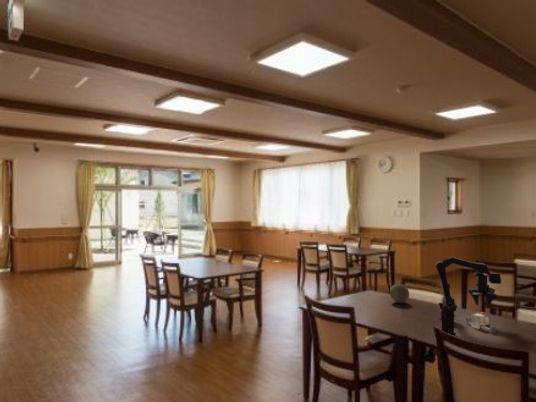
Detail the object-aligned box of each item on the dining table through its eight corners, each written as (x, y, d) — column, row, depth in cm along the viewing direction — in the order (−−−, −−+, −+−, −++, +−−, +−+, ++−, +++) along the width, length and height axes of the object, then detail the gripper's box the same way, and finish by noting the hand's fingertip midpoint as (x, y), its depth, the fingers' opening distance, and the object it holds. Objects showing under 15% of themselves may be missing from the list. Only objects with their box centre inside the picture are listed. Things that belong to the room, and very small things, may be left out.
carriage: (477, 329, 252) (477, 316, 252) (471, 326, 257) (471, 314, 257) (485, 328, 254) (485, 315, 254) (479, 325, 259) (479, 313, 259)
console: (482, 325, 261) (482, 318, 261) (476, 322, 266) (476, 316, 266) (488, 324, 262) (488, 318, 262) (482, 322, 267) (482, 316, 267)
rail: (491, 333, 244) (491, 326, 244) (466, 323, 263) (466, 317, 263) (495, 333, 245) (495, 326, 245) (470, 323, 264) (470, 317, 264)
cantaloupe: (393, 300, 326) (393, 281, 326) (411, 302, 318) (411, 283, 318) (387, 303, 314) (387, 284, 314) (405, 306, 306) (405, 286, 306)
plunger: (482, 320, 263) (482, 313, 263) (479, 319, 265) (479, 312, 265) (485, 320, 263) (485, 313, 263) (482, 319, 266) (482, 312, 266)
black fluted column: (437, 336, 239) (437, 302, 239) (450, 336, 239) (450, 302, 239) (444, 341, 231) (444, 306, 231) (458, 340, 231) (458, 305, 231)
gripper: (504, 285, 257) (504, 309, 257) (481, 279, 275) (481, 302, 275) (490, 286, 254) (490, 311, 254) (467, 280, 272) (467, 303, 272)
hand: (482, 306), depth 264 cm, fingers open, 8 cm apart
